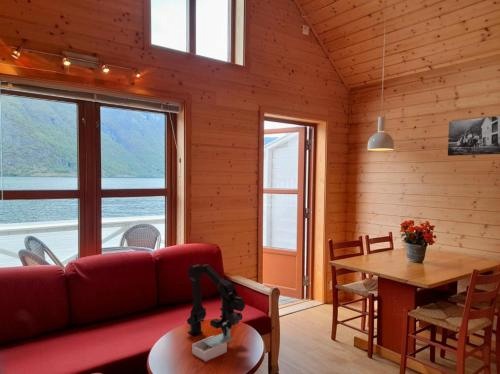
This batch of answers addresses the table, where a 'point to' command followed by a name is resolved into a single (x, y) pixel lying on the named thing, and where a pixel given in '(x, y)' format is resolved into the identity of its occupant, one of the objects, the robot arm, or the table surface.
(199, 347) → the parts tub
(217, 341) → the lid
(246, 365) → the table surface
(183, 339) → the table surface
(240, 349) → the table surface
